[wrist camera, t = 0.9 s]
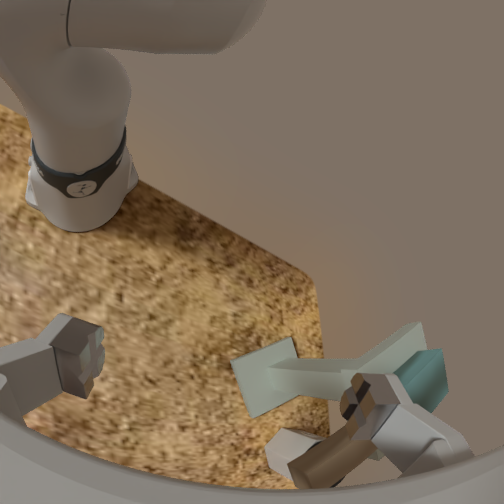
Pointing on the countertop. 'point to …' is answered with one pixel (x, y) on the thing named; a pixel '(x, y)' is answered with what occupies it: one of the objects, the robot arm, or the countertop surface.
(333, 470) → the mallet
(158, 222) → the countertop surface
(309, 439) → the jar
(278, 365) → the shelf stand
